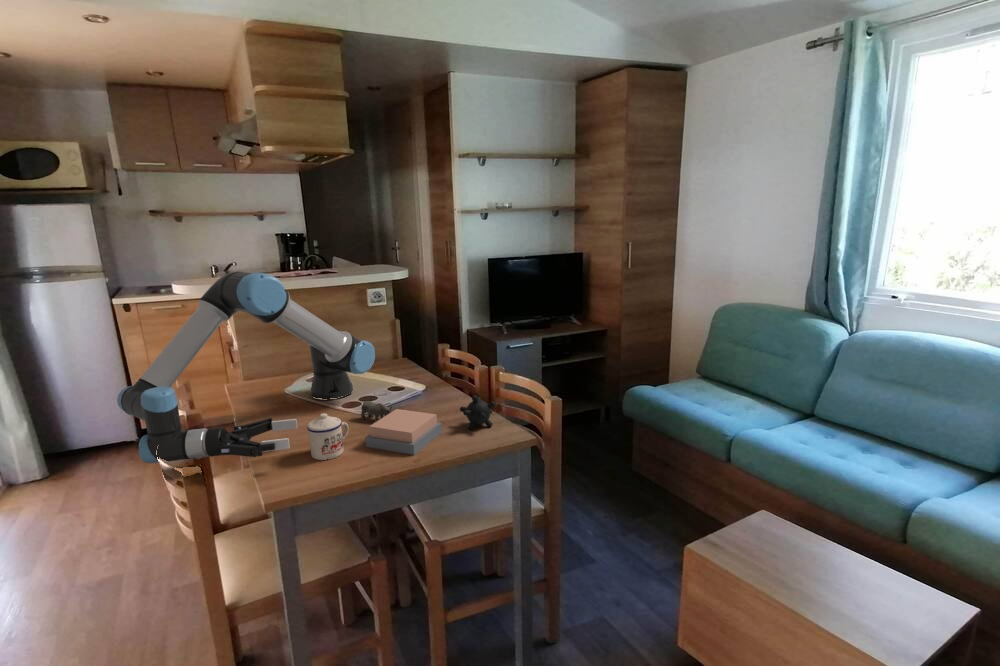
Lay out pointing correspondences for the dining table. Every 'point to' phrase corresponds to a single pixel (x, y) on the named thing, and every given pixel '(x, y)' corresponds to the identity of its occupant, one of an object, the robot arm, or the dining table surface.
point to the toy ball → (478, 412)
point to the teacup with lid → (326, 437)
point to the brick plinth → (404, 444)
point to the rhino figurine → (374, 410)
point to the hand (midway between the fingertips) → (293, 433)
